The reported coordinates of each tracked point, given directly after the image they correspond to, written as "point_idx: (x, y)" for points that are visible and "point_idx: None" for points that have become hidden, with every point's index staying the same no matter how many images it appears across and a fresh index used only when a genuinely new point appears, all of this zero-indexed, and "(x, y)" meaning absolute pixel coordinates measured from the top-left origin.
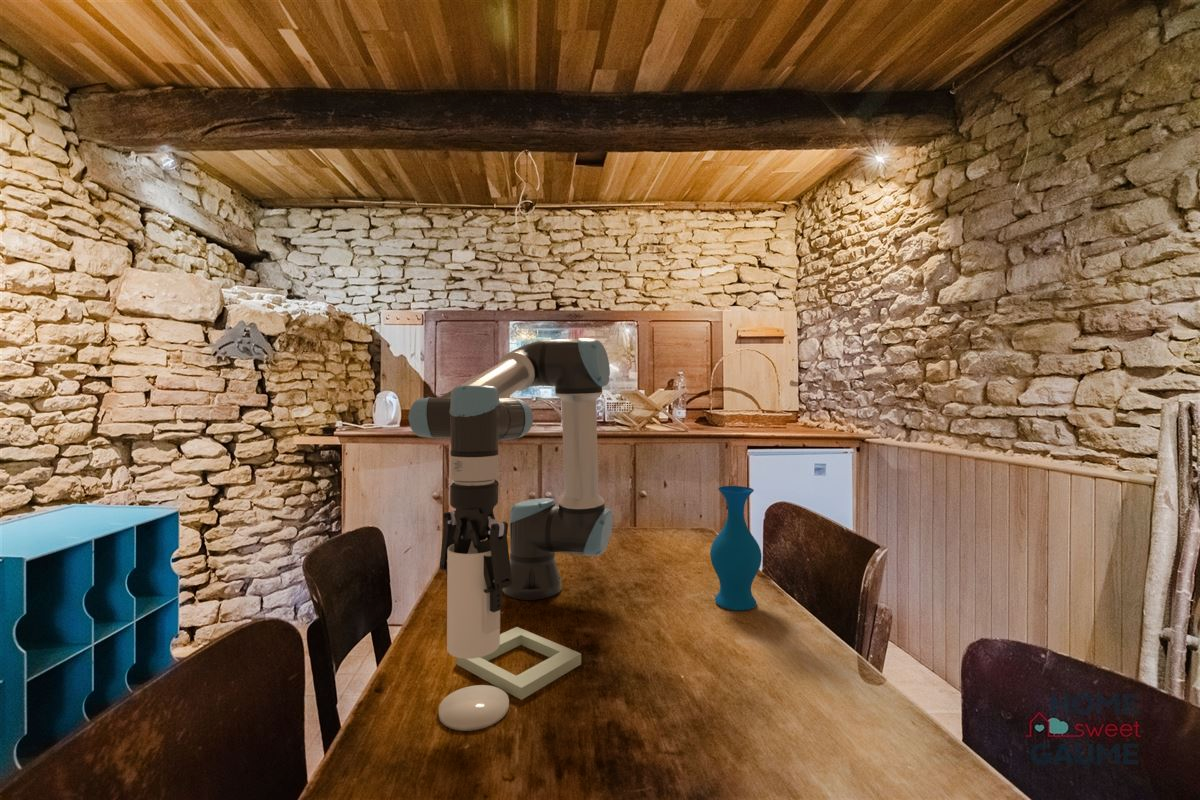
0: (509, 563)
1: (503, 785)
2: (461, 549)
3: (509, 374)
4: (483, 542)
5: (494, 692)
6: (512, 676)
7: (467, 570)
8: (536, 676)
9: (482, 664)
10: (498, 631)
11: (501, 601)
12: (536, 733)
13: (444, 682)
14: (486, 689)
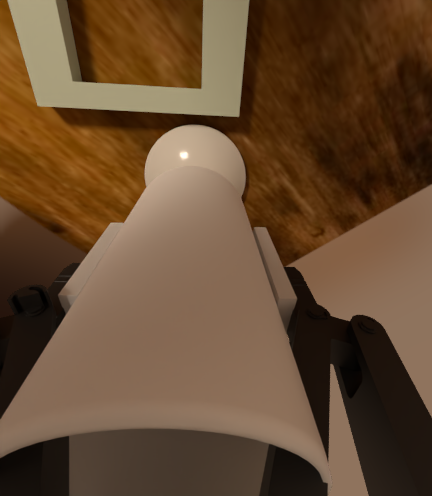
0: (424, 409)
1: (319, 241)
2: (62, 466)
3: None
4: None
5: (195, 139)
6: (197, 96)
7: (241, 440)
8: (235, 62)
9: (115, 101)
10: (243, 207)
11: (306, 284)
12: (305, 163)
13: (97, 160)
14: (177, 141)
